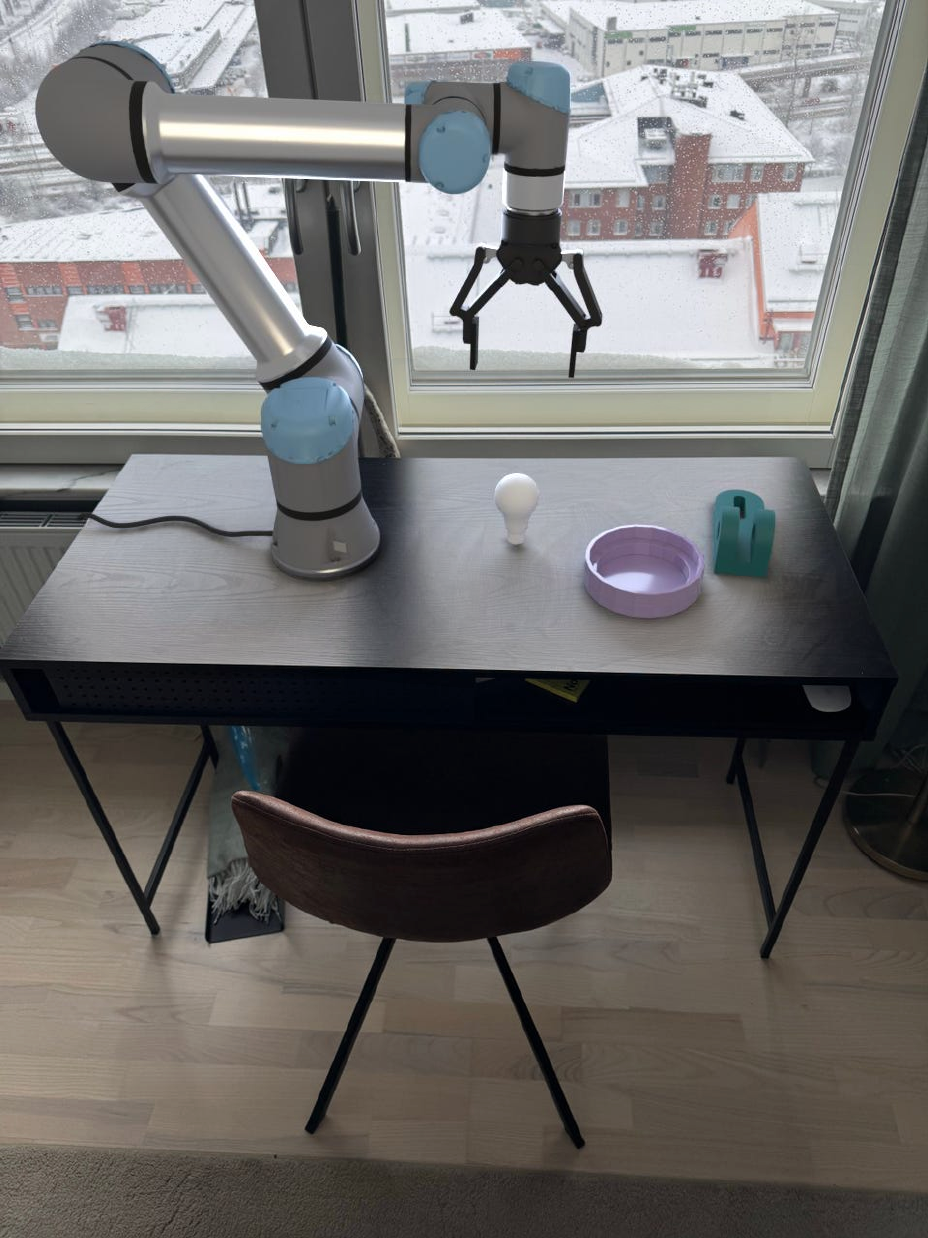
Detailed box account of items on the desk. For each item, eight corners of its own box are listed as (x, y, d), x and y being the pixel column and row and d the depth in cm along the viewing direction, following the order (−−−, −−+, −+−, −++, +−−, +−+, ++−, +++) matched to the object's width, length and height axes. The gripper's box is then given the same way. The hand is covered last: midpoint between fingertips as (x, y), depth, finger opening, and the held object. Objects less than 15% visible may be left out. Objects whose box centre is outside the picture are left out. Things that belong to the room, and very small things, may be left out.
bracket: (765, 577, 124) (776, 528, 119) (713, 572, 125) (722, 524, 120) (760, 504, 138) (770, 457, 133) (713, 500, 139) (721, 454, 134)
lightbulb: (510, 526, 135) (510, 460, 128) (546, 540, 132) (548, 472, 125) (486, 547, 131) (485, 479, 124) (522, 561, 129) (523, 493, 122)
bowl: (566, 603, 121) (568, 575, 118) (606, 541, 132) (608, 514, 129) (681, 634, 116) (685, 606, 113) (712, 567, 126) (717, 540, 123)
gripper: (633, 205, 117) (613, 366, 130) (438, 193, 120) (438, 352, 133) (633, 221, 111) (612, 388, 124) (427, 208, 114) (428, 373, 127)
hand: (522, 370), depth 129 cm, fingers open, 13 cm apart
